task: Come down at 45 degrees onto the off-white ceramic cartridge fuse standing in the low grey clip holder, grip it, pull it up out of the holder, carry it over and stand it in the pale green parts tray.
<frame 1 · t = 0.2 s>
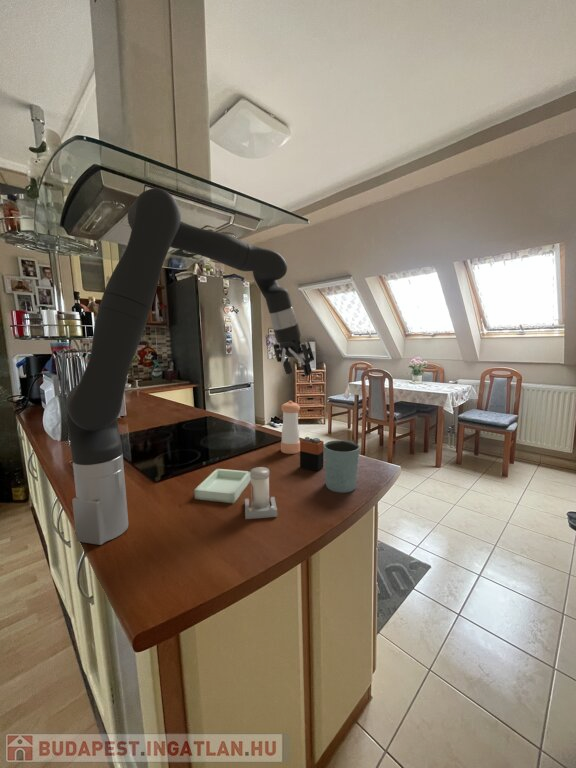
hand: (298, 374, 100), 31 cm above the worktop, tool tilted 20°, fingers open, 8 cm apart
holder: (260, 508, 80), on the worktop
teal cup: (340, 485, 92), on the worktop
battery: (311, 467, 105), on the worktop
salt shaker: (290, 450, 120), on the worktop
fuse: (260, 508, 80), resting in holder
tray: (224, 488, 90), on the worktop
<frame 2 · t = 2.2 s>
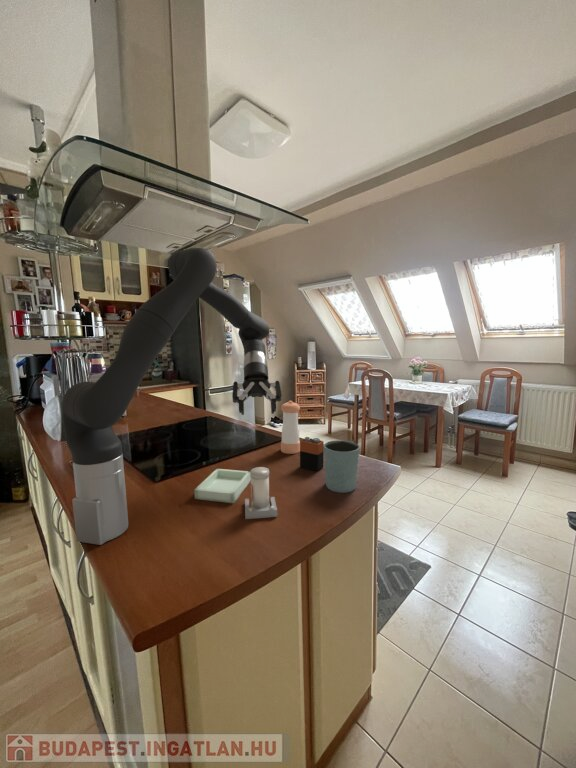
hand: (257, 412, 90), 21 cm above the worktop, tool tilted 45°, fingers open, 8 cm apart
nothing on the worktop moved.
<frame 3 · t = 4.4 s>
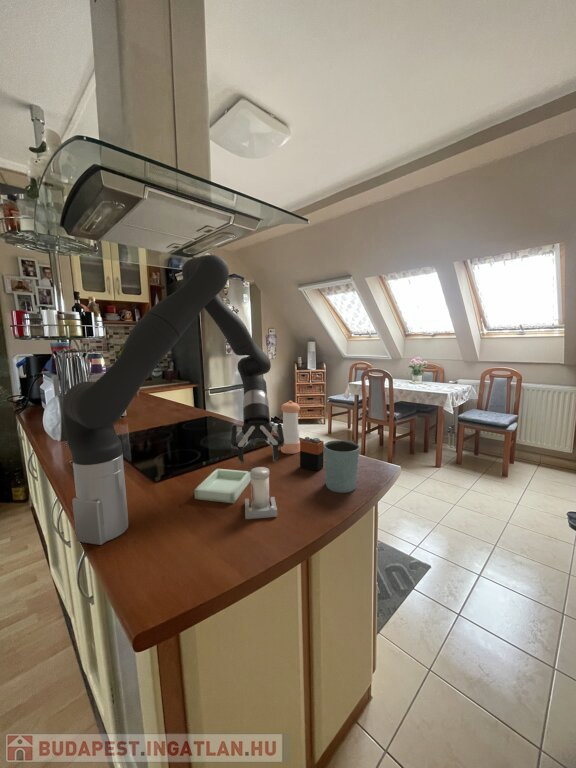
hand: (258, 461, 83), 10 cm above the worktop, tool tilted 45°, fingers open, 8 cm apart
nothing on the worktop moved.
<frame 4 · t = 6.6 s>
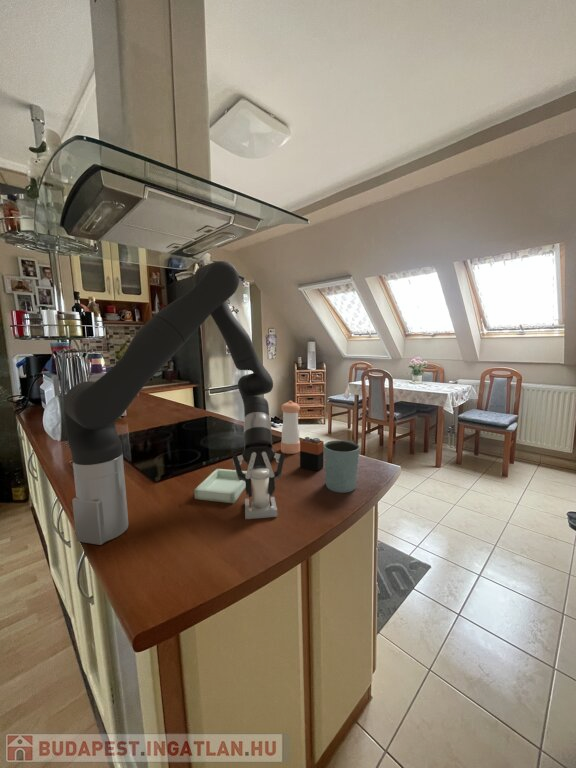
hand: (260, 495, 77), 5 cm above the worktop, tool tilted 45°, fingers closed on fuse, 4 cm apart
fuse: (260, 508, 80), resting in holder, touching gripper
everything else where it was.
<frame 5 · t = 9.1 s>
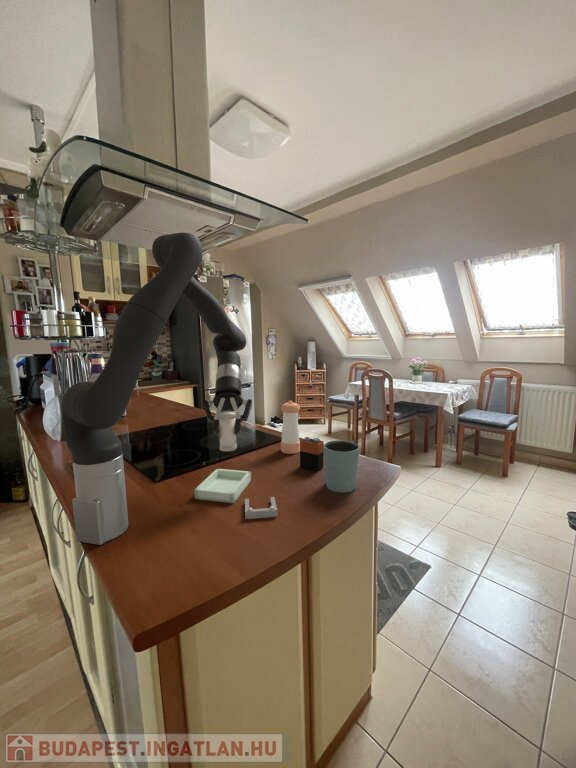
hand: (227, 434, 84), 17 cm above the worktop, tool tilted 45°, fingers closed on fuse, 4 cm apart
fuse: (228, 448, 87), point 13 cm above the worktop, touching gripper
everything else where it was.
when the fingers open (6 cm above the worktop, at t = 11.8 s): fuse stays where it is, resting on tray.
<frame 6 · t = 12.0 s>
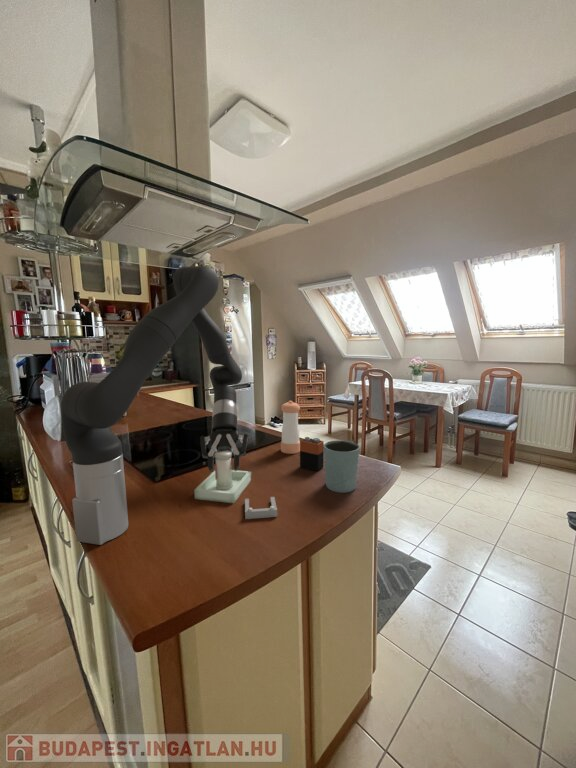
hand: (223, 470, 87), 6 cm above the worktop, tool tilted 45°, fingers open, 6 cm apart
fuse: (224, 486, 90), point 1 cm above the worktop, touching tray
everything else where it was.
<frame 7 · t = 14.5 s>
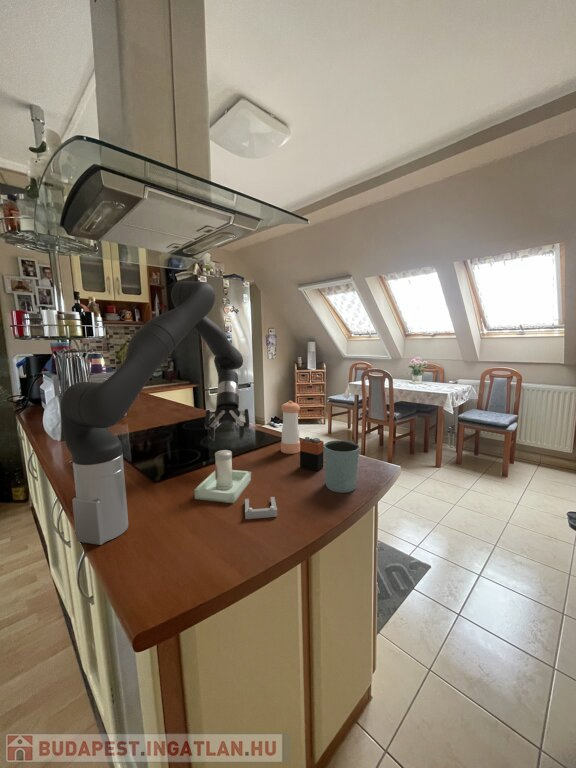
hand: (226, 439, 100), 11 cm above the worktop, tool tilted 45°, fingers open, 8 cm apart
nothing on the worktop moved.
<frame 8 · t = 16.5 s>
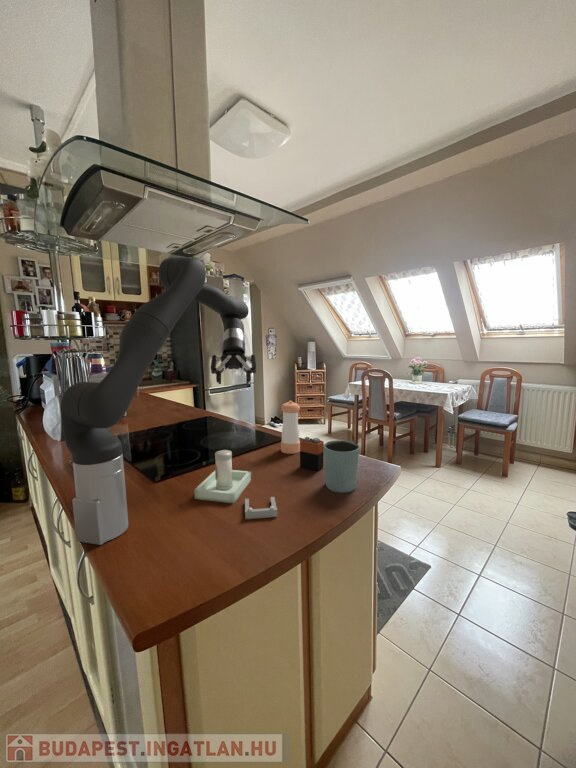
hand: (233, 382, 98), 29 cm above the worktop, tool tilted 45°, fingers open, 8 cm apart
nothing on the worktop moved.
at the end: fuse inside the target area on the tray (0.1 cm from its centre), point 0.6 cm above the tray's base; the gripper is holding nothing; fuse moved 15.4 cm from its start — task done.
